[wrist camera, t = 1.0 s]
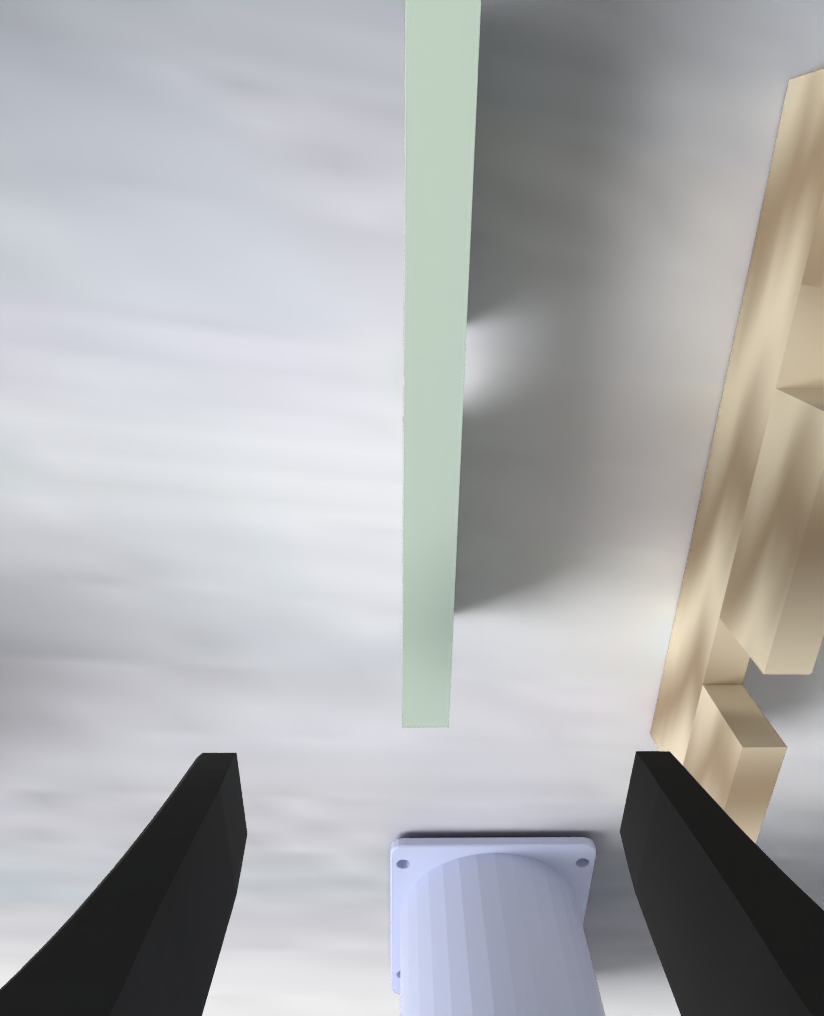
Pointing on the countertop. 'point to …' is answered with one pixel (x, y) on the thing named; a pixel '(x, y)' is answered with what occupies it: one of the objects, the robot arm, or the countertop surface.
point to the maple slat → (759, 495)
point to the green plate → (434, 335)
